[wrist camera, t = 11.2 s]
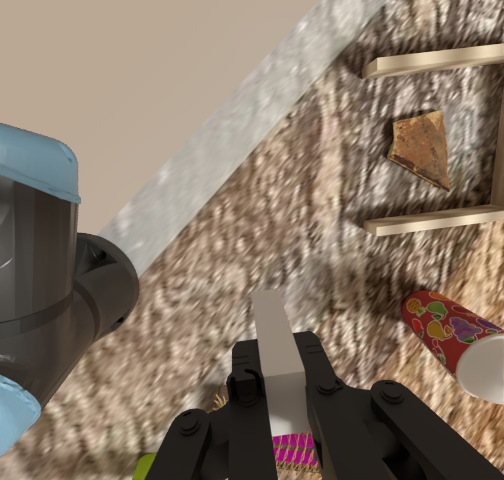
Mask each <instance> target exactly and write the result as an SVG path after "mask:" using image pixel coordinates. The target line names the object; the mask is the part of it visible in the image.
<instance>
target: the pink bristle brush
mask: <svg viewBox="0 0 504 480" xmlns="http://www.w3.org/2000/svg"><path fill="white" fill-rule="evenodd" d="M216 396H217V398H218V400H217V401H216V400H214V401H215V402H216V403H217V404H216V408H213V407H212V409H213V410H215V411H216V410H218V409H220V408H221V407H223V406H224V405H225V404H226V402H228V400H229V396H228V391H227V386H223V385H221V388H220V392H219V396H218V395H217V394H216ZM223 401H224V403H225V404H224V403H223ZM223 404H224V405H223ZM309 425H310V424H309ZM303 433H304V432H303ZM303 433H302V435H300V433H299V434H297V433H294V434H287V435H280V436H273V437H272V440H273V443H274V445H275V443H279V447H278V448H274V454H275V462H276V469H282V470H283V471H282V470H281V474H282V473H283V472H284V470H285V469H286V470H289V473H288V475H289V474H290V473H291V472H292V471H293V470H295V471H297V473H296V476H297V475H298V474H299V473H300V472H301V471H303V472H304V475H303V476H305V475H306V474H307V473H308V472H312V475H311V478H312V477H313V476H314V475H315V474H316V473H320V474H321V472H320V468H319V465H318V461H314V453H313V451H314V449H312V452H305V451H306V448H307V447H311V448H313V436H312V435H311V434H312V431H311V434H310V436H308V432H307V434H303ZM280 444H282V446H283V444H287V445H288V446H287V449H282V446H281V449H280ZM274 445H273V447H274ZM289 445H290V447H291V445H295V446H296V448H295V450H290V447H289ZM297 446H298V447H299V446H303V447H304V450H303V451H297V450H298V447H297ZM288 448H289V449H288ZM290 470H291V472H290ZM298 471H299V472H298ZM306 472H307V473H306ZM305 473H306V474H305ZM313 473H314V474H313ZM320 474H319V477H318V478H320V477H321V475H320Z"/></svg>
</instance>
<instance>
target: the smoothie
mask: <svg viewBox="0 0 504 480" xmlns="http://www.w3.org/2000/svg"><path fill="white" fill-rule="evenodd" d="M402 314H403V319H404V322H405V323H406V325H407V326H408V327H409V328H410V329H411V330H412V332H413V333H414V334H415V335H416V336H417V337H418V338H419V340H420V341H421V342H422V343H423V344H424V345H425V346H426V347H427V349H428V350H429V351H430V352H431V353H432V354H433V355H434V357H435V358H436V359H437V360H438V361H439V362H440V363H441V364H442V366H443V367H444V368H445V369H446V370H447V371H448V372H449V374H450V375H451V376H452V377H453V378H454V379H455V380H456V382H457V383H458V384H459V385H460V386H461V388H462V389H463V391H464V392H466V393H467V394H469V395H471V396H473V397H478V398H481V399H483V400H485V401H488V402H491V403H496V404H501V405H504V330H503V329H501V328H499V327H498V326H496V325H494V324H492V323H490V322H489V321H487V320H485V319H483V318H482V317H480V316H478V315H476V314H475V313H473V312H471V311H469V310H467V309H466V308H464V307H462V306H460V305H459V304H457V303H455V302H453V301H451V300H450V299H448V298H446V297H444V296H443V295H441V294H439V293H437V292H434V291H424V290H423V291H417V292H415V293H412V294H411V295H410V296H408V297H407V299H406V300H405V301H404V303H403V306H402Z"/></svg>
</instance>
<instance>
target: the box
mask: <svg viewBox="0 0 504 480" xmlns="http://www.w3.org/2000/svg"><path fill="white" fill-rule="evenodd" d="M499 63H504V43H503V44H494V45H486V46H477V47H468V48H459V49H451V50H442V51H433V52H424V53H416V54H407V55H398V56H389V57H381V58H377V59H375V60H374V61H372V62H371V63H369V64H368V65H366V66H365V67H363V68H362V79H370V78H378V77H387V76H396V75H404V74H413V73H421V72H430V71H439V70H447V69H456V68H464V67H473V66H482V65H490V64H499ZM498 220H504V86H503V95H502V103H501V112H500V121H499V129H498V138H497V146H496V155H495V163H494V172H493V181H492V189H491V198H490V204H489V205H481V206H474V207H466V208H458V209H450V210H442V211H435V212H427V213H419V214H411V215H403V216H396V217H388V218H380V219H372V220H364V221H363V229H364V230H366V231H368V232H370V233H372V234H373V235H375V236H382V235H390V234H398V233H405V232H413V231H421V230H428V229H436V228H444V227H452V226H459V225H467V224H475V223H482V222H490V221H498Z"/></svg>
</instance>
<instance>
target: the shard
mask: <svg viewBox="0 0 504 480" xmlns="http://www.w3.org/2000/svg"><path fill="white" fill-rule="evenodd" d="M393 130H394V139H393V143H392V145H391V148H390V150H389V153H388V155H387V158H388V159H390V160H392V161H394V162H397V163H399V164H400V165H401V166H403V167H405V168H407V169H409V170H411V171H412V172H414V173H415V174H416V175H418V176H420V177H421V178H423V179H425V180H426V181H428V182H429V183H431V184H433V185H436V186H438V187H441V188H442V189H443V190H445V191H447V192H450V190H449V182H448V180H449V179H448V174H447V141H446V131H445V125H444V122H443V113H442V112H441V111H440V110H437V111H434V112H430V113H427V114H423V115H420V116H417V117H414V118H409V119H404V120H399V121H396V122H394V123H393Z"/></svg>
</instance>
